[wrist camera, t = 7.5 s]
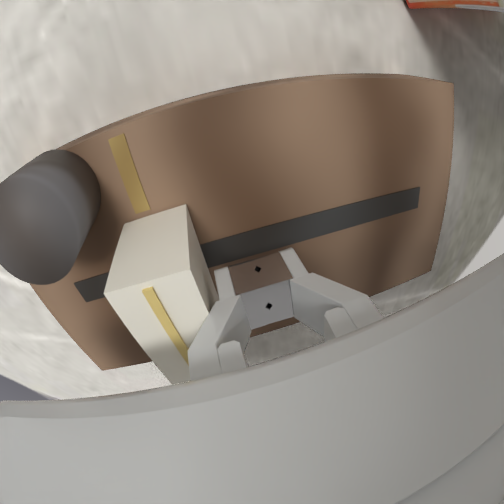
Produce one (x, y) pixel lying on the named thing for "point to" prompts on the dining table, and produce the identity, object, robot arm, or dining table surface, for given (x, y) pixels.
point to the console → (239, 191)
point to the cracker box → (458, 4)
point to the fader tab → (162, 287)
